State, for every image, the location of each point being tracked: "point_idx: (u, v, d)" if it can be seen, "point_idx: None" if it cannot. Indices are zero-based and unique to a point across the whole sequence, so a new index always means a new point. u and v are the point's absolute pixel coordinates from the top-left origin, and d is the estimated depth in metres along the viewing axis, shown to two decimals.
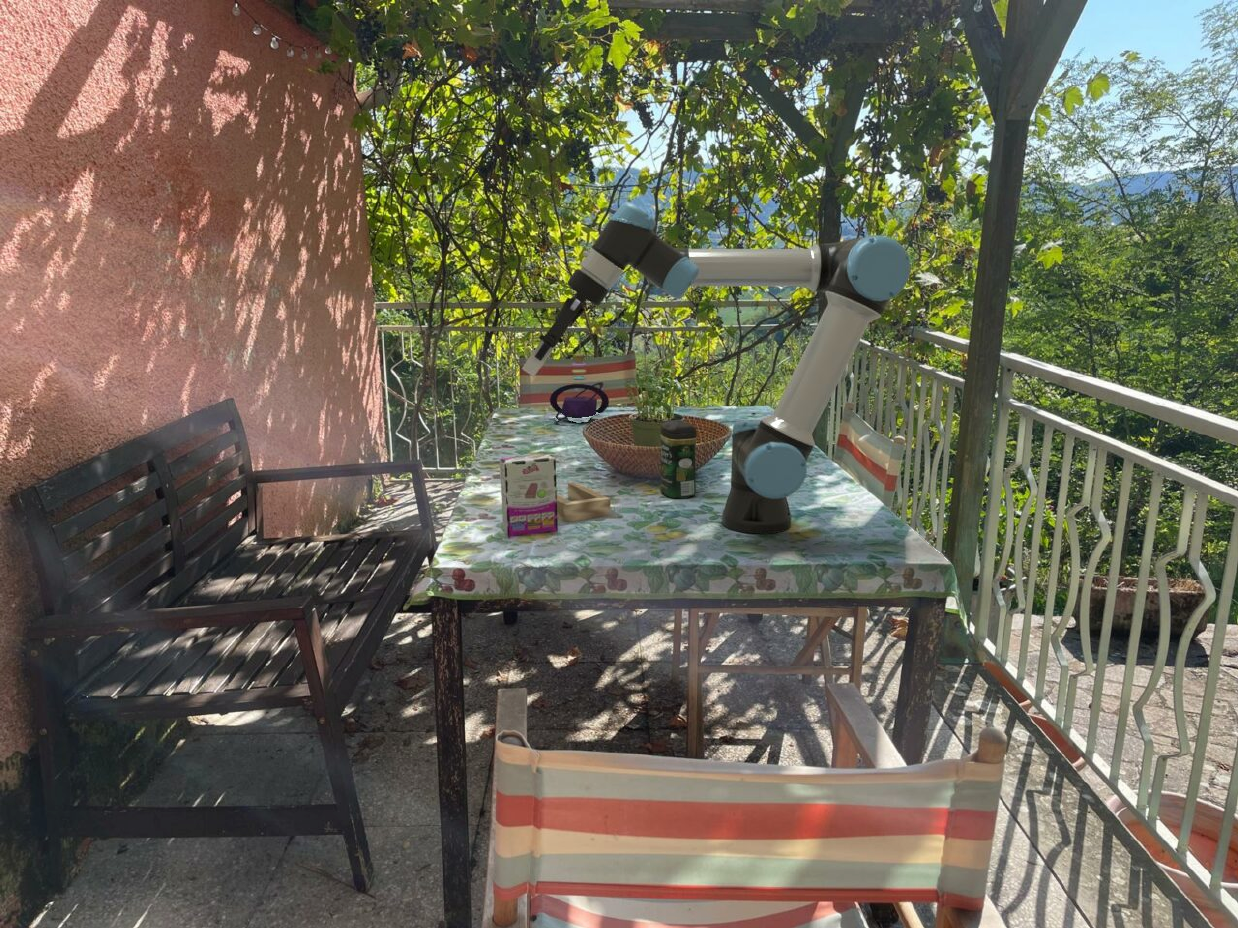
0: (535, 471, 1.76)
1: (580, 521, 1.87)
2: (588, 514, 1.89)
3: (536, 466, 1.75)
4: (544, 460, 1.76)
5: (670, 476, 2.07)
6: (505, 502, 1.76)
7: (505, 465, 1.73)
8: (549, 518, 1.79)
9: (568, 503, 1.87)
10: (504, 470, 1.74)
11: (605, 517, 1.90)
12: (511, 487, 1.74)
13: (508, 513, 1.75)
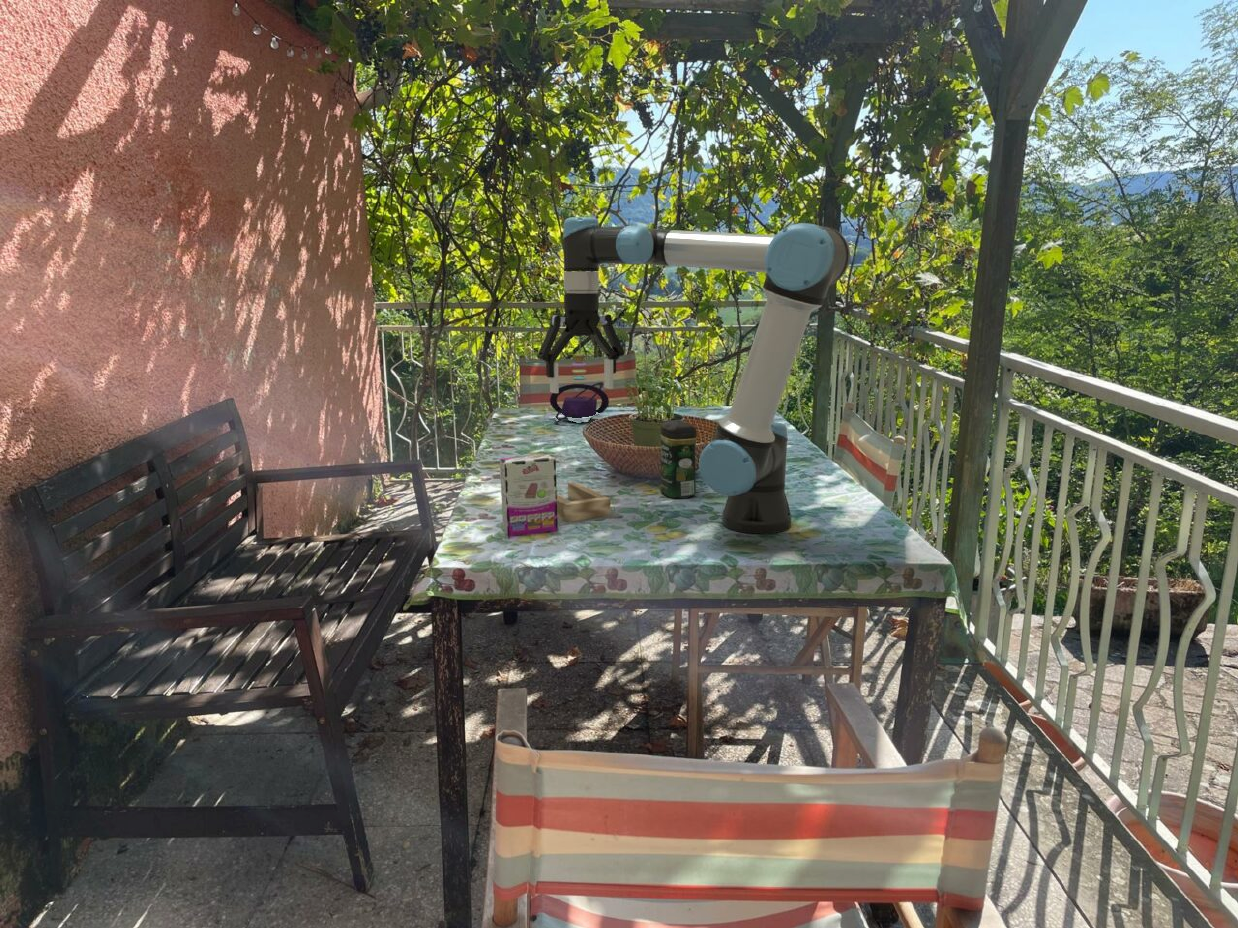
0: (535, 471, 1.76)
1: (580, 521, 1.87)
2: (588, 514, 1.89)
3: (536, 466, 1.75)
4: (544, 460, 1.76)
5: (670, 476, 2.07)
6: (505, 502, 1.76)
7: (505, 465, 1.73)
8: (549, 518, 1.79)
9: (568, 503, 1.87)
10: (504, 470, 1.74)
11: (605, 517, 1.90)
12: (511, 487, 1.74)
13: (508, 513, 1.75)
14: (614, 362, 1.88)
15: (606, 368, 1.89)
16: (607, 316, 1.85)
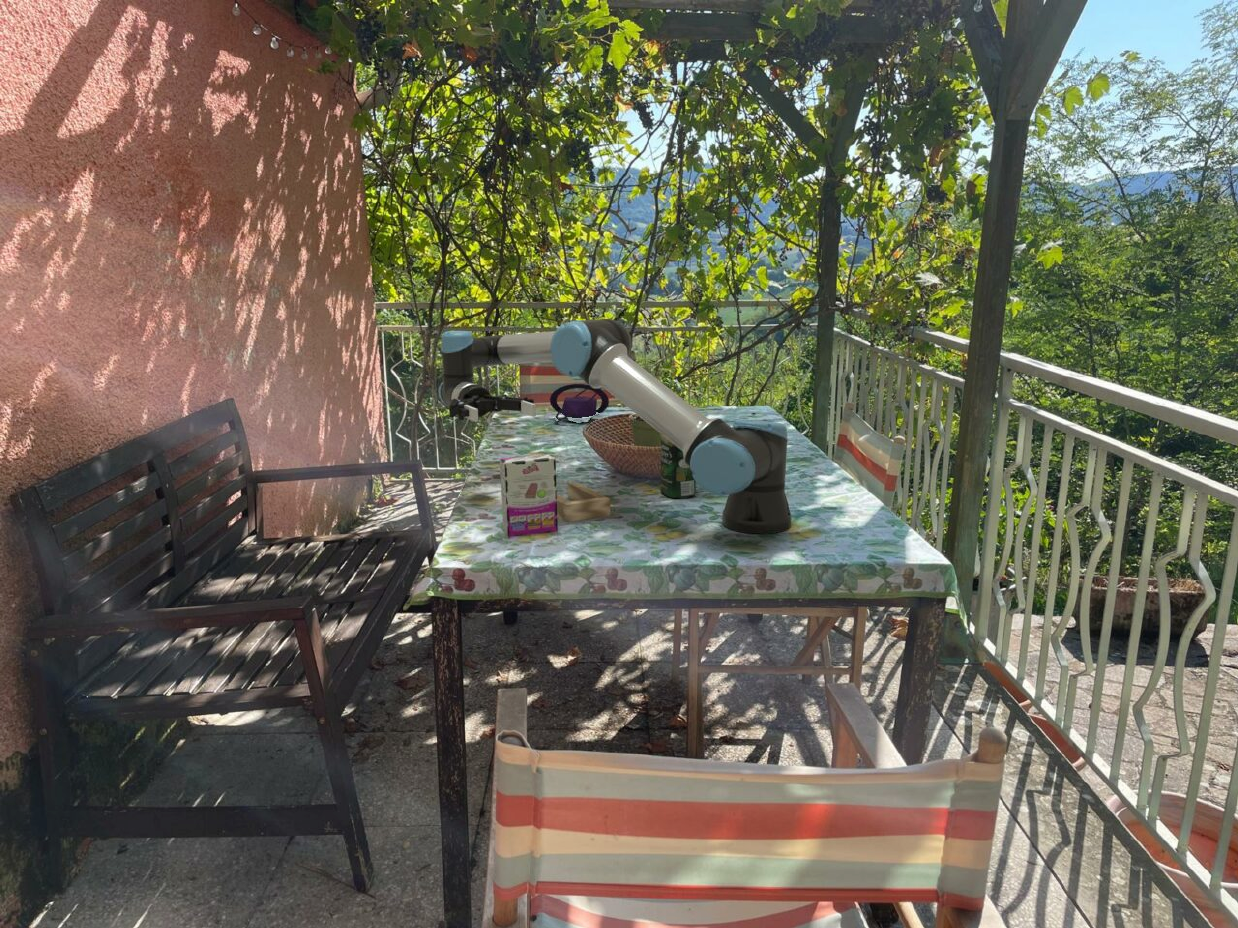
0: (535, 471, 1.76)
1: (580, 521, 1.87)
2: (588, 514, 1.89)
3: (536, 466, 1.75)
4: (544, 460, 1.76)
5: (670, 476, 2.07)
6: (505, 502, 1.76)
7: (505, 465, 1.73)
8: (549, 518, 1.79)
9: (568, 503, 1.87)
10: (504, 470, 1.74)
11: (605, 517, 1.90)
12: (511, 487, 1.74)
13: (508, 513, 1.75)
14: None
15: (524, 409, 1.92)
16: (502, 396, 2.01)
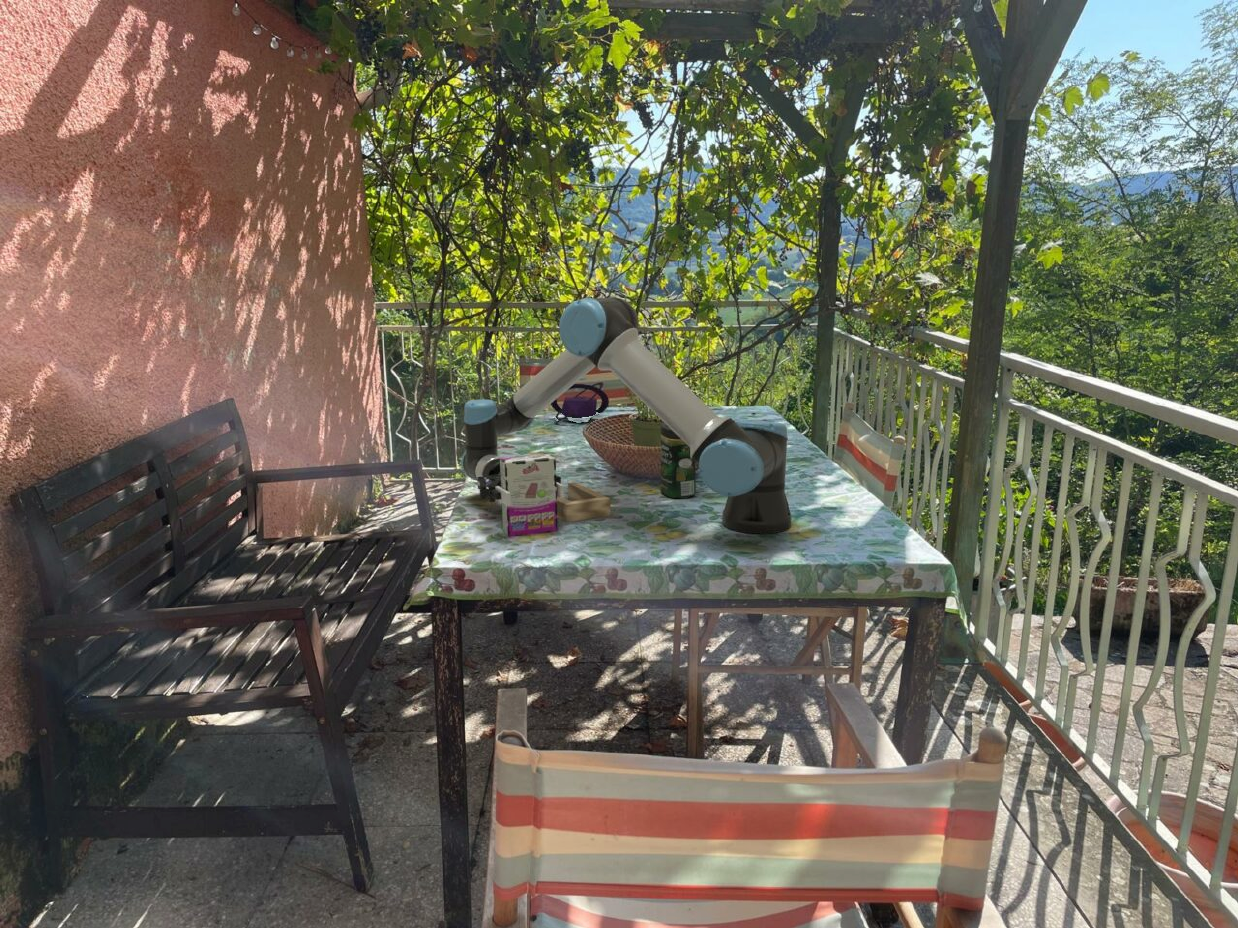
0: (535, 471, 1.76)
1: (580, 521, 1.87)
2: (588, 514, 1.89)
3: (536, 466, 1.75)
4: (544, 460, 1.76)
5: (670, 476, 2.07)
6: None
7: (505, 465, 1.73)
8: (549, 517, 1.79)
9: (568, 503, 1.87)
10: (504, 470, 1.74)
11: (605, 517, 1.90)
12: (511, 487, 1.74)
13: (508, 513, 1.75)
14: None
15: None
16: None
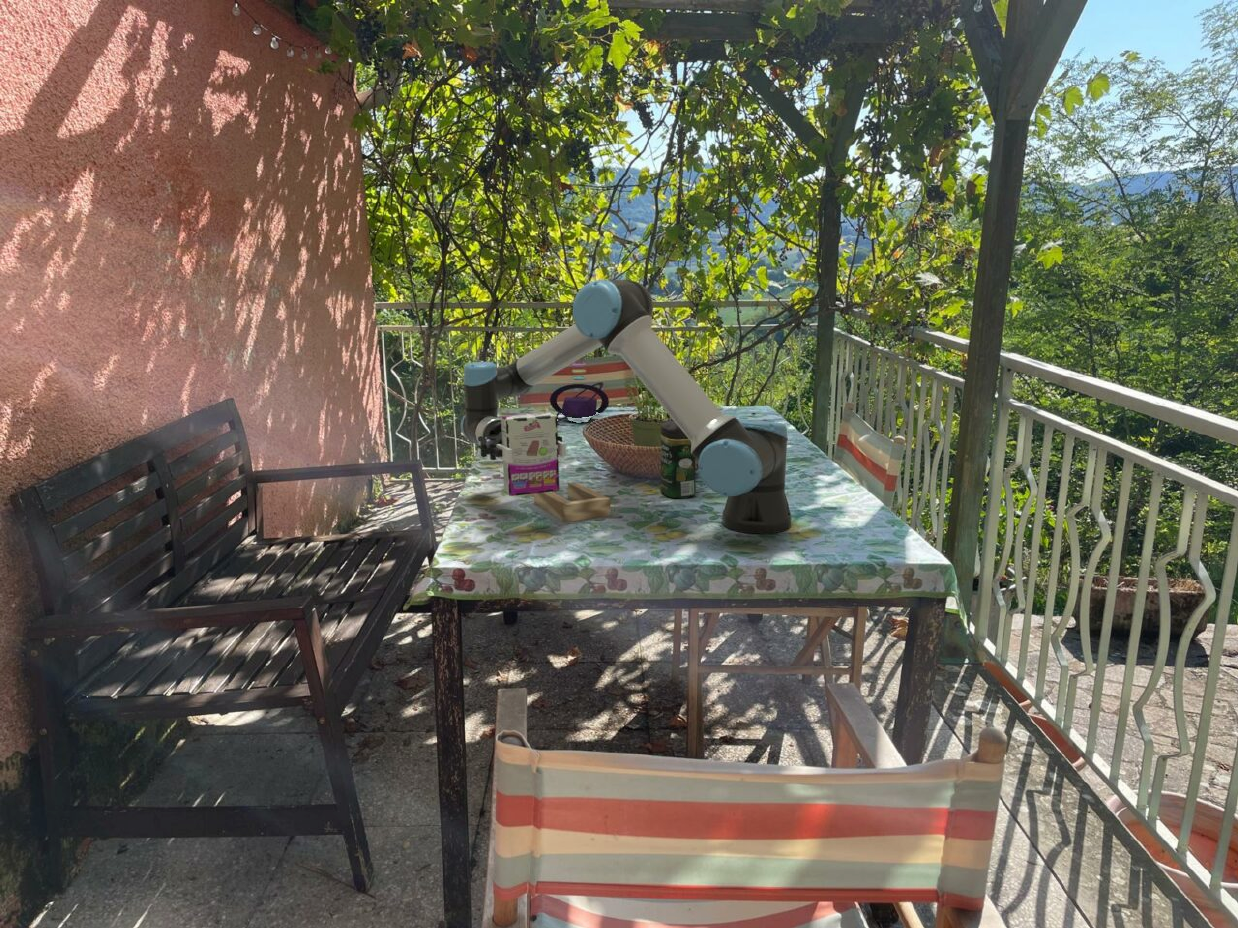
0: (537, 429, 1.74)
1: (580, 521, 1.87)
2: (588, 514, 1.89)
3: (537, 424, 1.74)
4: (546, 417, 1.75)
5: (670, 476, 2.07)
6: None
7: (506, 422, 1.72)
8: (551, 476, 1.78)
9: (568, 503, 1.87)
10: (505, 427, 1.72)
11: (605, 517, 1.90)
12: (512, 444, 1.73)
13: (509, 470, 1.74)
14: None
15: None
16: None
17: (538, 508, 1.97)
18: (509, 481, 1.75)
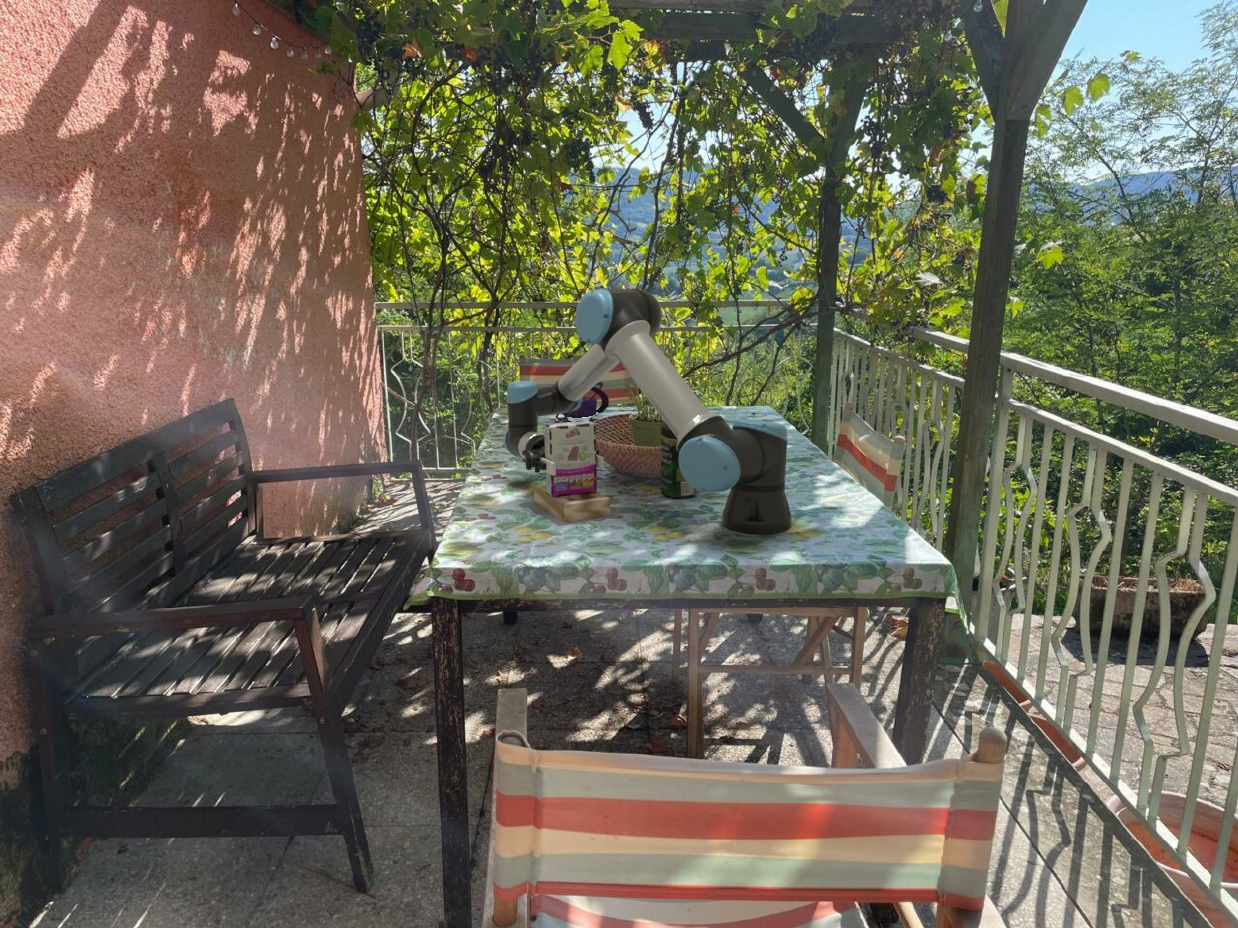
0: (577, 435, 1.91)
1: (580, 521, 1.87)
2: (588, 514, 1.89)
3: (577, 431, 1.90)
4: (585, 425, 1.91)
5: (670, 476, 2.07)
6: None
7: (550, 429, 1.88)
8: (589, 479, 1.94)
9: (568, 503, 1.87)
10: (549, 434, 1.89)
11: (605, 517, 1.90)
12: (555, 450, 1.89)
13: None
14: None
15: None
16: None
17: (538, 508, 1.97)
18: (552, 483, 1.91)
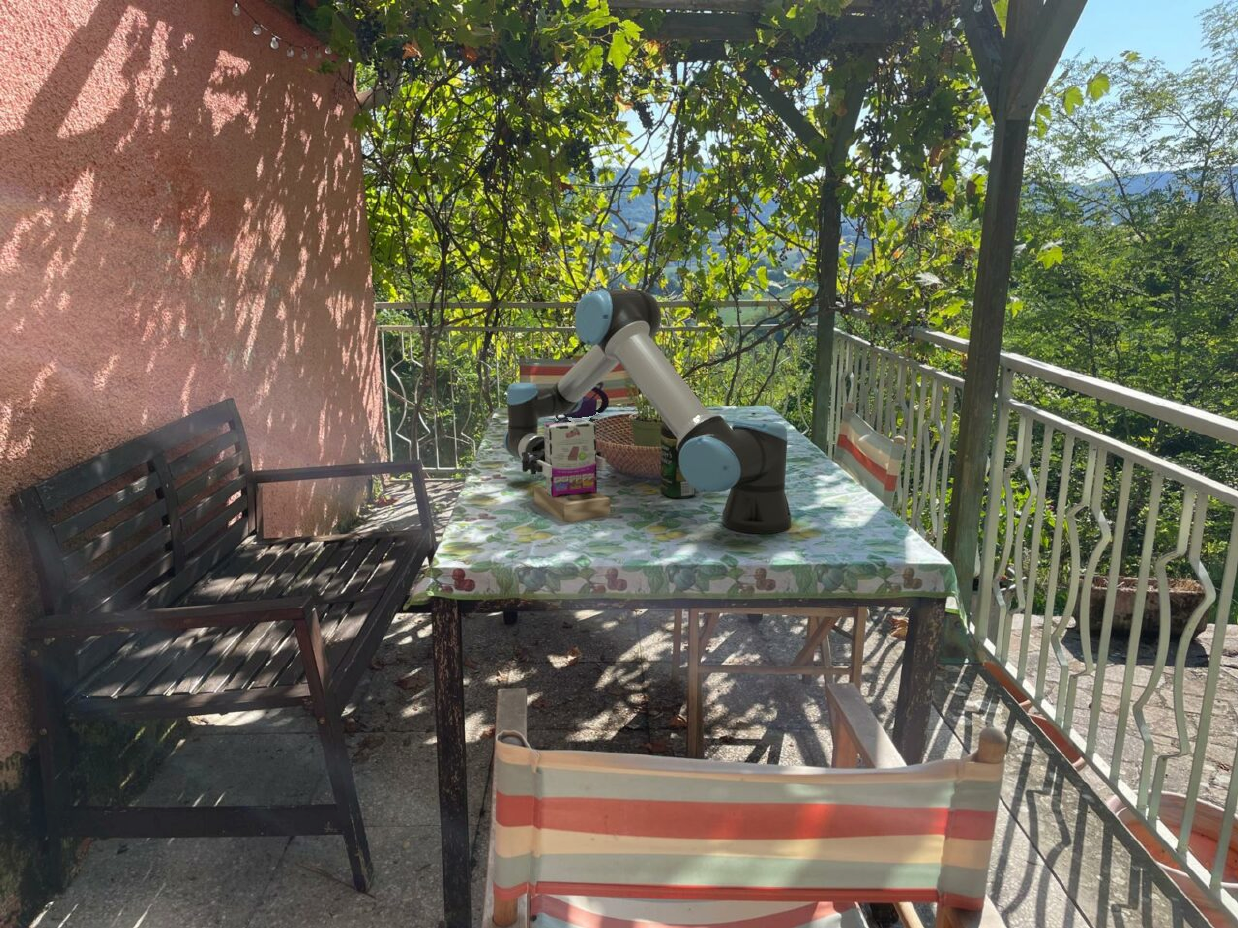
0: (577, 435, 1.91)
1: (580, 521, 1.87)
2: (588, 514, 1.89)
3: (577, 431, 1.90)
4: (585, 425, 1.91)
5: (670, 476, 2.07)
6: (549, 463, 1.91)
7: (550, 429, 1.88)
8: (589, 479, 1.94)
9: (568, 503, 1.87)
10: (549, 434, 1.89)
11: (605, 517, 1.90)
12: (555, 450, 1.89)
13: (552, 474, 1.90)
14: None
15: None
16: None
17: (538, 508, 1.97)
18: (552, 483, 1.91)
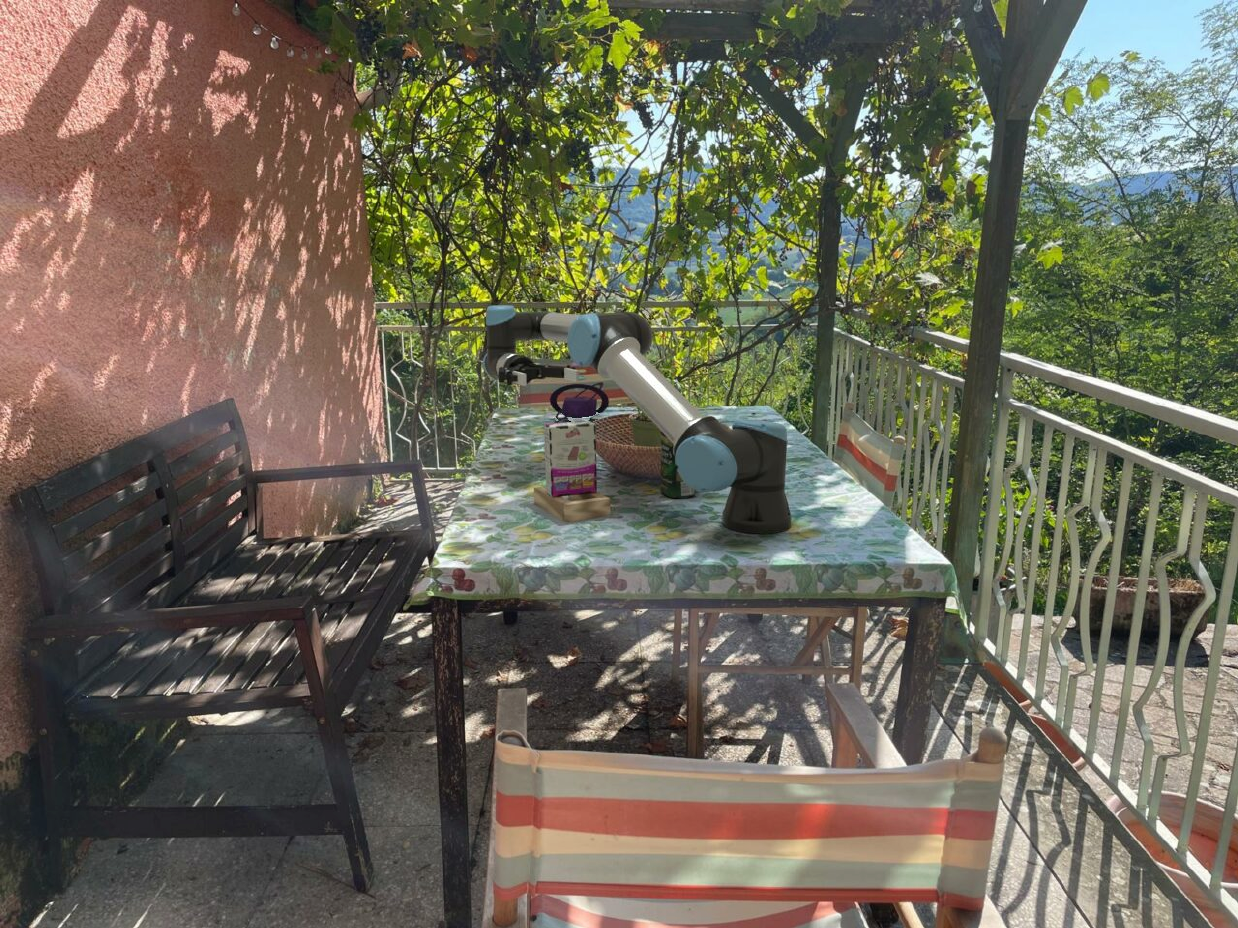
0: (577, 435, 1.91)
1: (580, 521, 1.87)
2: (588, 514, 1.89)
3: (577, 431, 1.90)
4: (585, 425, 1.91)
5: (670, 476, 2.07)
6: (549, 463, 1.91)
7: (550, 429, 1.88)
8: (589, 479, 1.94)
9: (568, 503, 1.87)
10: (549, 434, 1.89)
11: (605, 517, 1.90)
12: (555, 450, 1.89)
13: (552, 474, 1.90)
14: None
15: (567, 376, 2.05)
16: (545, 365, 2.14)
17: (538, 508, 1.97)
18: (552, 483, 1.91)
